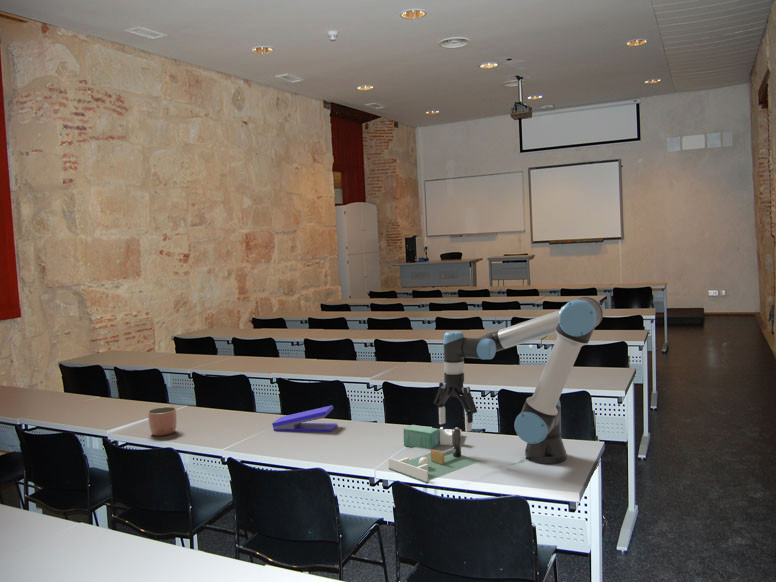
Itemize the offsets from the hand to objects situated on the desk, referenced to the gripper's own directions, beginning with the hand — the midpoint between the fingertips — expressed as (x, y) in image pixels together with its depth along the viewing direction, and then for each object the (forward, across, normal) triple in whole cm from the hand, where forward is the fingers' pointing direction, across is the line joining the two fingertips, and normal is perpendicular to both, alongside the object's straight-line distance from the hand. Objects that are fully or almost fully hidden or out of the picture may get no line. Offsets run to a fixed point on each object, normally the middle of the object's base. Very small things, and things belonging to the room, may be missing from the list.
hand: (455, 427), depth 239 cm
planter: (+14, +122, +66) cm, 140 cm away
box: (+13, +20, -2) cm, 24 cm away
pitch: (+12, 0, +12) cm, 17 cm away
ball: (+9, 0, +17) cm, 20 cm away
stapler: (+14, +79, +17) cm, 82 cm away
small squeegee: (+11, 0, +5) cm, 12 cm away
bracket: (+13, +15, -13) cm, 24 cm away
